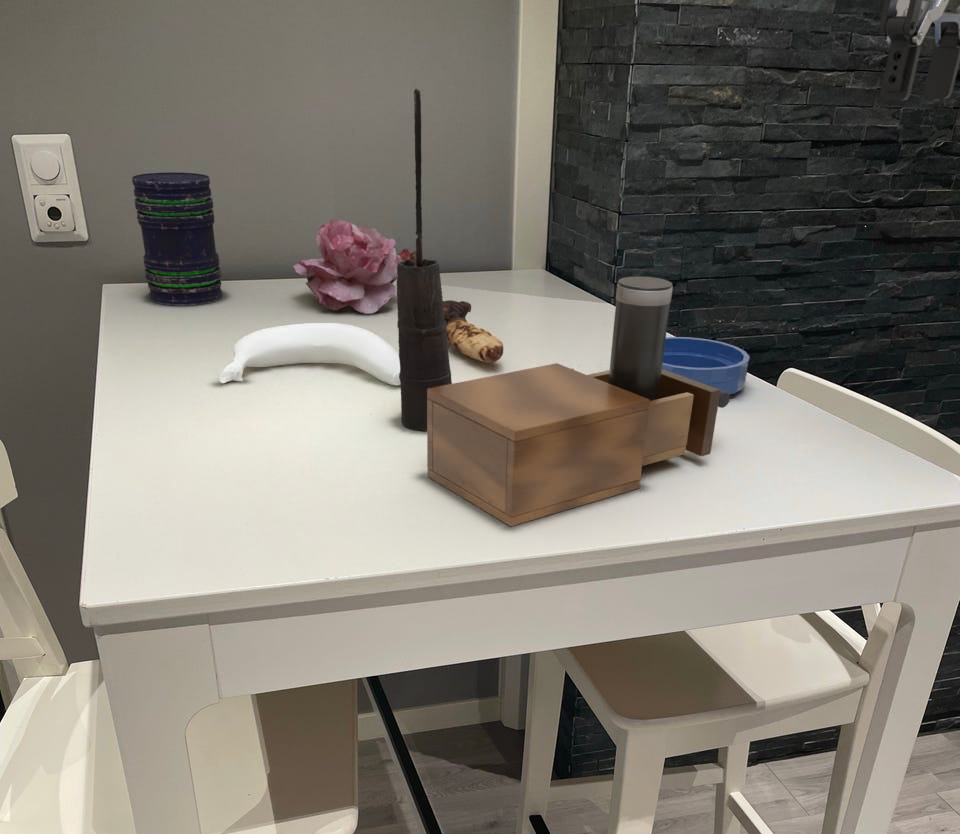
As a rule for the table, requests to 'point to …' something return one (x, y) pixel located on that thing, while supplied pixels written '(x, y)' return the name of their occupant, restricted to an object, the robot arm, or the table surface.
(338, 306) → the flower
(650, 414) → the drawer
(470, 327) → the tan mottled elongated piece
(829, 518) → the table surface
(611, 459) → the cabinet
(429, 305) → the butter churn
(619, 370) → the pepper mill
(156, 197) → the storage jar
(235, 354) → the banana
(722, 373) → the bowl
